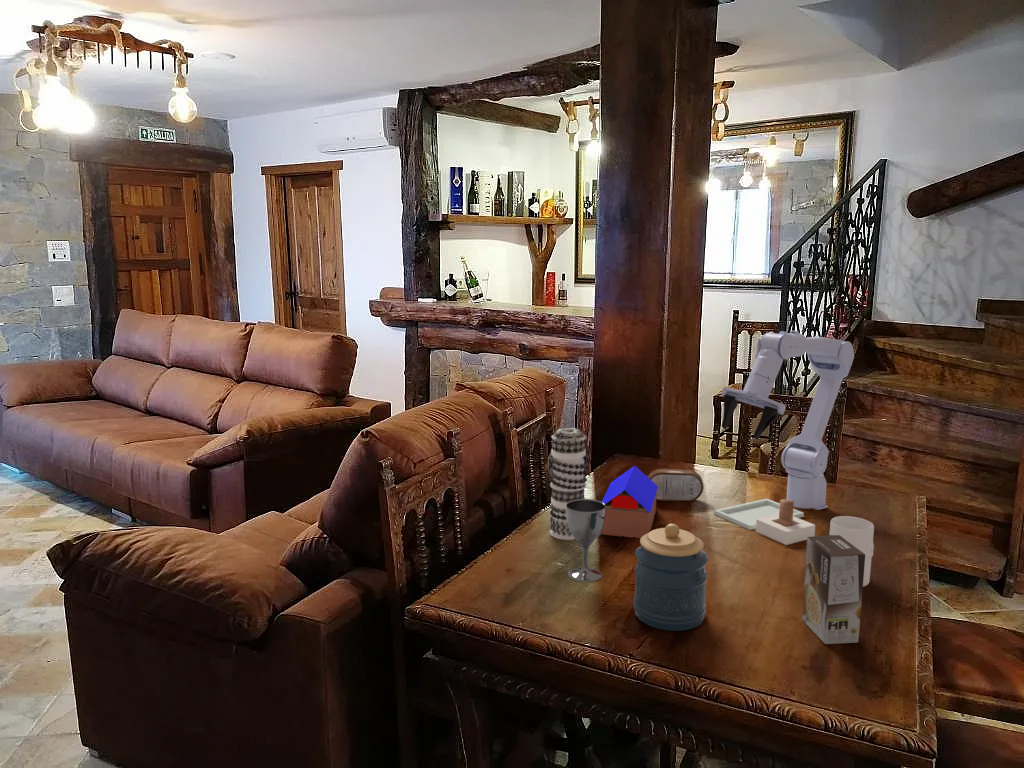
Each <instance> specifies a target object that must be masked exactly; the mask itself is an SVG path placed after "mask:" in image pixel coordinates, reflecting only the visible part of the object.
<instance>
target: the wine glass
mask: <svg viewBox="0 0 1024 768" xmlns="http://www.w3.org/2000/svg"><path fill="white" fill-rule="evenodd" d="M566 518H567V524H568V528H569V531H570V533H571V534H572V536H573V537H574V538H575V540H576V541H577V542H578V544H579V546H580V548H581V550H582V561H583V562H582V566H578V567H574V568H573V567H572V568H571V569H569V570H568V572H567V576H568V578H570V579H571V580H574V581H577V582H583V583H590V582H596V581H598V580H599V581H600V579H602V578H603V573H602V571H600V570H599V569H596V568H594V567H590V566H588V555H589V549H590V547H591V545H592V544H593V543H594V542H595V541H596V540H597V538H598V537H599V536H601V535H602V534H601V532H602V529H603V526H604V521H605V504H604V503H603V502H602V500H597V499H592V498H585V499H576V500H572V501H569V502H568V503H567V504H566Z"/></svg>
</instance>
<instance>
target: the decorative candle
mask: <svg viewBox="0 0 1024 768" xmlns="http://www.w3.org/2000/svg"><path fill="white" fill-rule="evenodd" d="M586 439H587V435H586V434H584V433H583V432H582V430H580V429H579V428H573V427H563V428H558V429H557V430H556V431H555V433H554V434H552V435H551V440H552V444H551V445H552V446H551V447H552V448H551V451H550V453H549V455H548V459H549V462H548V466H549V467H550V469H549V472H548V473H549V475H550V476H549V482H550V483H549V486H550V488H551V498H550V502H551V504H549V508H550V509H551V510H549V515H550V517H549V523H550V524H549V529H550V531H549V534H550V536H551V537H553V538H555V539H560V540H564V541H571V540H572V541H573V540H574V539H575V538H574V537H573V536H572V534H571V533H570V531H569V528H568V524H567V518H566V504H567V503H568V502H569V501H572V500H576V499H586V497H585V489H586V487H587V483H586V482H587V481H588V479H587V478H586V477H585V475H587V474H588V472H589V471H588V469H586V468H587V467H588V466H589V464H588V463H587V462H586V460H587V459H589V455H588V454H587V453H586V451H587V450H586V448H585V447H586ZM575 540H576V539H575Z"/></svg>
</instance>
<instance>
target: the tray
mask: <svg viewBox="0 0 1024 768" xmlns="http://www.w3.org/2000/svg"><path fill="white" fill-rule="evenodd" d="M779 508H780V502H776V501H774V500H772V499H769V498H763V499H759V500H754V501H750V502H746V503H741V504H736V505H731V506H727V507H726V506H725V507H723V508H718V509H714V510H713V515H715V516H717V517H719V518H721V519H724V520H726V521H728V522H730V523H732V524H734V525H737V526H740V527H741V528H744V529H746V530H749V531H751V530H756V520H757V519H760V518H764V517H768V516H773V515H777V514H779ZM804 514H805V513H804V512H803V511H800V510H797V509H795V508H793V516H794V517H796V518H799V519H801V518H804V517H805V515H804Z"/></svg>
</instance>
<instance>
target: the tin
mask: <svg viewBox="0 0 1024 768" xmlns="http://www.w3.org/2000/svg"><path fill="white" fill-rule="evenodd" d="M646 476H647V477H648V478H649V479H650V480H651V481H652V482H654V483H655V484H656V485H657V486H658V488H657V493H656V501H659V500H660V502H679V501H689V502H688V503H690V502H694V501H697V500H698V499H699V498H700V497H701V495H702V494H703V491H704V482H703V481H704V480H703V479H702V477H701V475H700V474H699V473H698V472H697V471H694V470H693V469H678V468H677V469H675V468H657V469H654V470H653V471H651V472H650V473H649V474H648V475H646Z"/></svg>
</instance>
